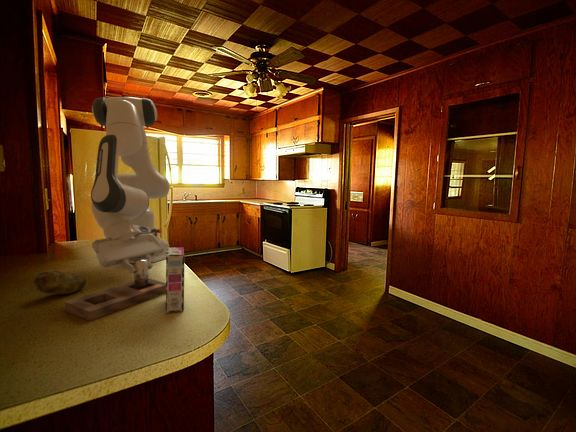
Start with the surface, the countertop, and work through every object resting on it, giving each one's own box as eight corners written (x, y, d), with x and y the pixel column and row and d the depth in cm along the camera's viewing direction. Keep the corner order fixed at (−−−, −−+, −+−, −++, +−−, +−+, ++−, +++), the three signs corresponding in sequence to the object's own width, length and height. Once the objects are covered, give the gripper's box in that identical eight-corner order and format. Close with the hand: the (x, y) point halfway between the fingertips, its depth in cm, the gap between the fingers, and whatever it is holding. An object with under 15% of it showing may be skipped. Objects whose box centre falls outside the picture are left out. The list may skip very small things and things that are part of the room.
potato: (87, 293, 93) (86, 269, 92) (34, 302, 85) (32, 275, 85) (85, 286, 100) (84, 263, 99) (35, 293, 92) (34, 268, 91)
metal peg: (143, 281, 97) (142, 257, 97) (151, 283, 96) (150, 259, 95) (131, 285, 94) (131, 260, 93) (140, 287, 92) (139, 262, 91)
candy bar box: (184, 311, 83) (184, 254, 81) (165, 313, 81) (165, 255, 79) (184, 296, 93) (183, 246, 92) (166, 298, 91) (166, 246, 90)
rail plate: (146, 284, 103) (146, 277, 103) (170, 291, 98) (169, 283, 97) (65, 310, 81) (64, 300, 81) (90, 320, 76) (89, 310, 75)
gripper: (93, 234, 87) (114, 272, 83) (153, 226, 105) (172, 257, 101) (85, 247, 89) (105, 284, 86) (145, 237, 107) (164, 268, 104)
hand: (142, 270), depth 94 cm, fingers closed on metal peg, 4 cm apart
